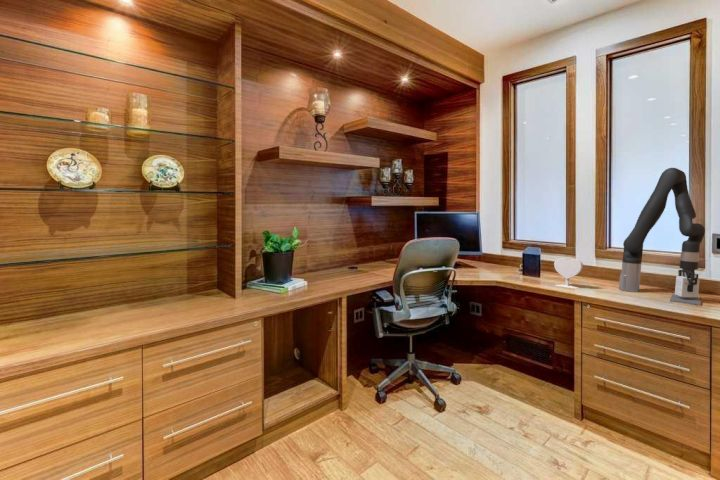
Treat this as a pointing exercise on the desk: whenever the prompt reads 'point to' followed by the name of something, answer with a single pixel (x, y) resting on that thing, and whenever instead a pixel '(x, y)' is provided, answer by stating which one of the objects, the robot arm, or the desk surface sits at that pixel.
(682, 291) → the small box
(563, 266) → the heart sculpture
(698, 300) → the mat
